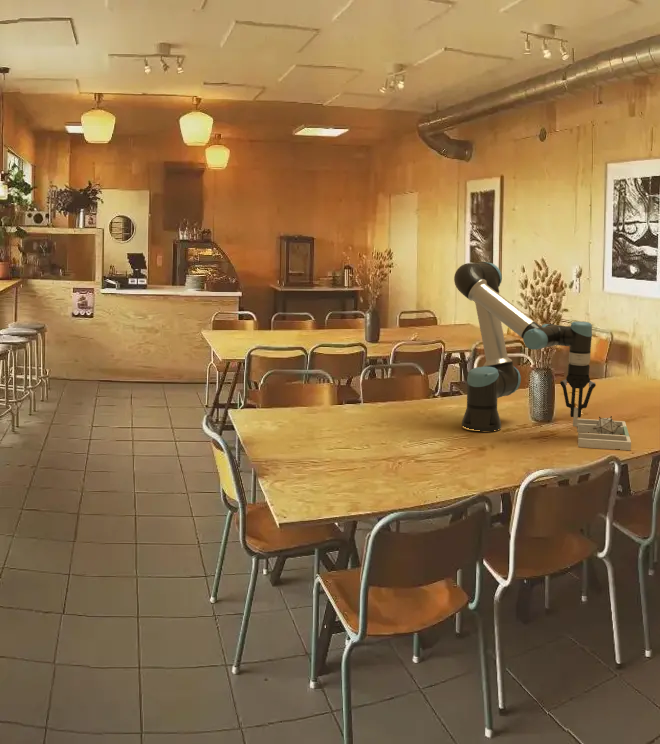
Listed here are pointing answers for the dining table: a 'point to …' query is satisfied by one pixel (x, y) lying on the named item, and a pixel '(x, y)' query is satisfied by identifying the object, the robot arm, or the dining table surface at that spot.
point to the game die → (606, 426)
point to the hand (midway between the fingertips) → (574, 425)
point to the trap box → (602, 436)
